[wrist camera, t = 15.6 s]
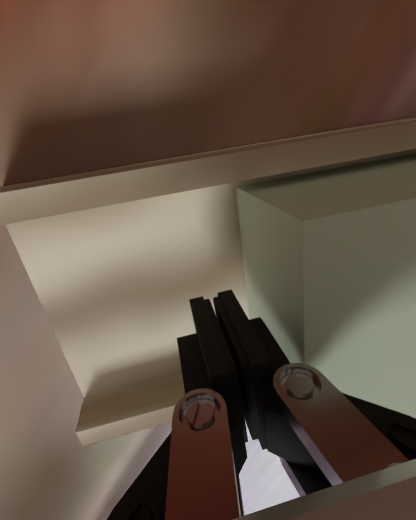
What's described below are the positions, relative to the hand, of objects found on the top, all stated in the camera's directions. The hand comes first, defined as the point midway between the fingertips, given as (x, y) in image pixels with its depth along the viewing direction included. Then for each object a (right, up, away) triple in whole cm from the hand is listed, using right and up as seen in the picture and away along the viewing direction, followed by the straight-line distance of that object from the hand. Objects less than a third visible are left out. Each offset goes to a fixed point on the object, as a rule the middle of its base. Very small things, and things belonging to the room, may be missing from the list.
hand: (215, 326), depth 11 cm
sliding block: (+7, +3, +4) cm, 9 cm away
